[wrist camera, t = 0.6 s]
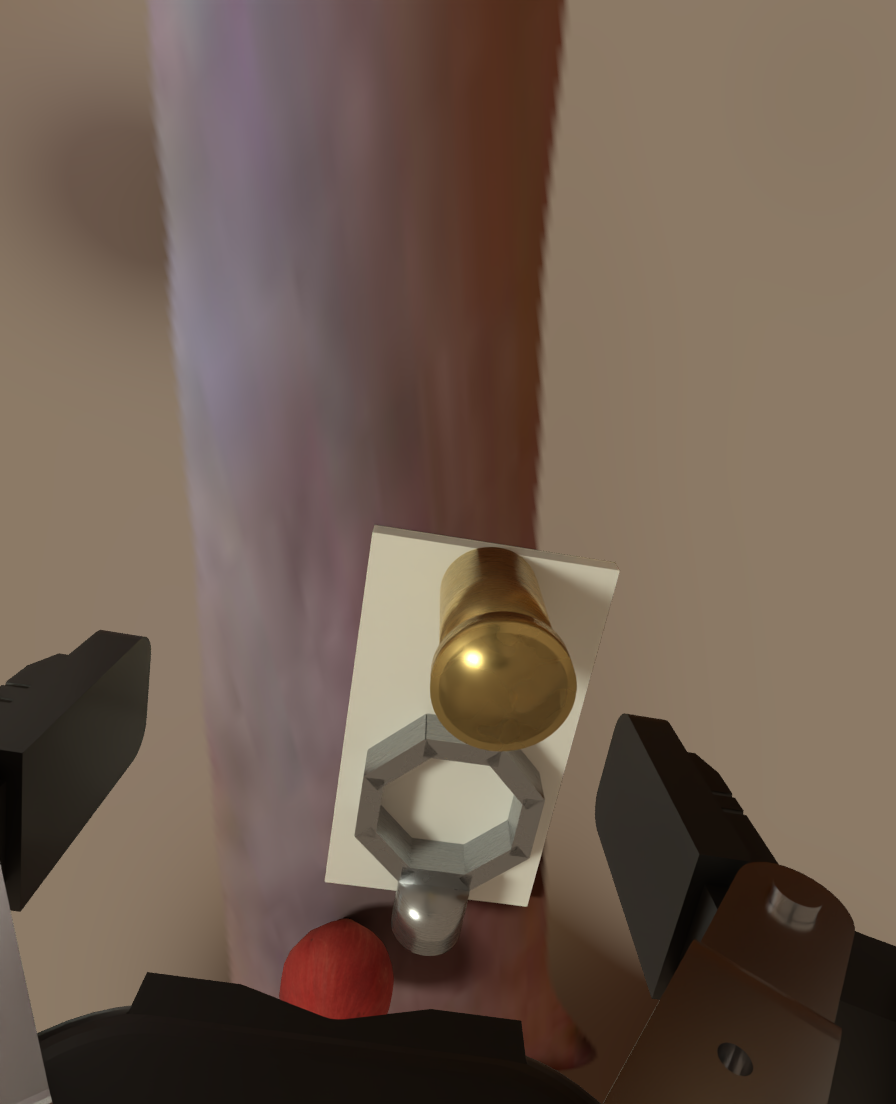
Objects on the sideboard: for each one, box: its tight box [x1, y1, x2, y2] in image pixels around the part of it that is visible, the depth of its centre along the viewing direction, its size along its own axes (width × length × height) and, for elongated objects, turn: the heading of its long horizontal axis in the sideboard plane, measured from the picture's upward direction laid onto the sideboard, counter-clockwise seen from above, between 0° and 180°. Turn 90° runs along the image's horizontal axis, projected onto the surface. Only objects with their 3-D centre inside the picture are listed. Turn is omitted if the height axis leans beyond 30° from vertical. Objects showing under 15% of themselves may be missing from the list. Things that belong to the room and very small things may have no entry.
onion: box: [279, 918, 394, 1019], centre depth 36 cm, size 6×6×8 cm
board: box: [325, 525, 620, 907], centre depth 35 cm, size 20×11×1 cm, turn 171°
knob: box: [430, 547, 577, 751], centre depth 28 cm, size 5×5×8 cm
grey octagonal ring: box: [354, 713, 545, 956], centre depth 34 cm, size 11×9×4 cm
